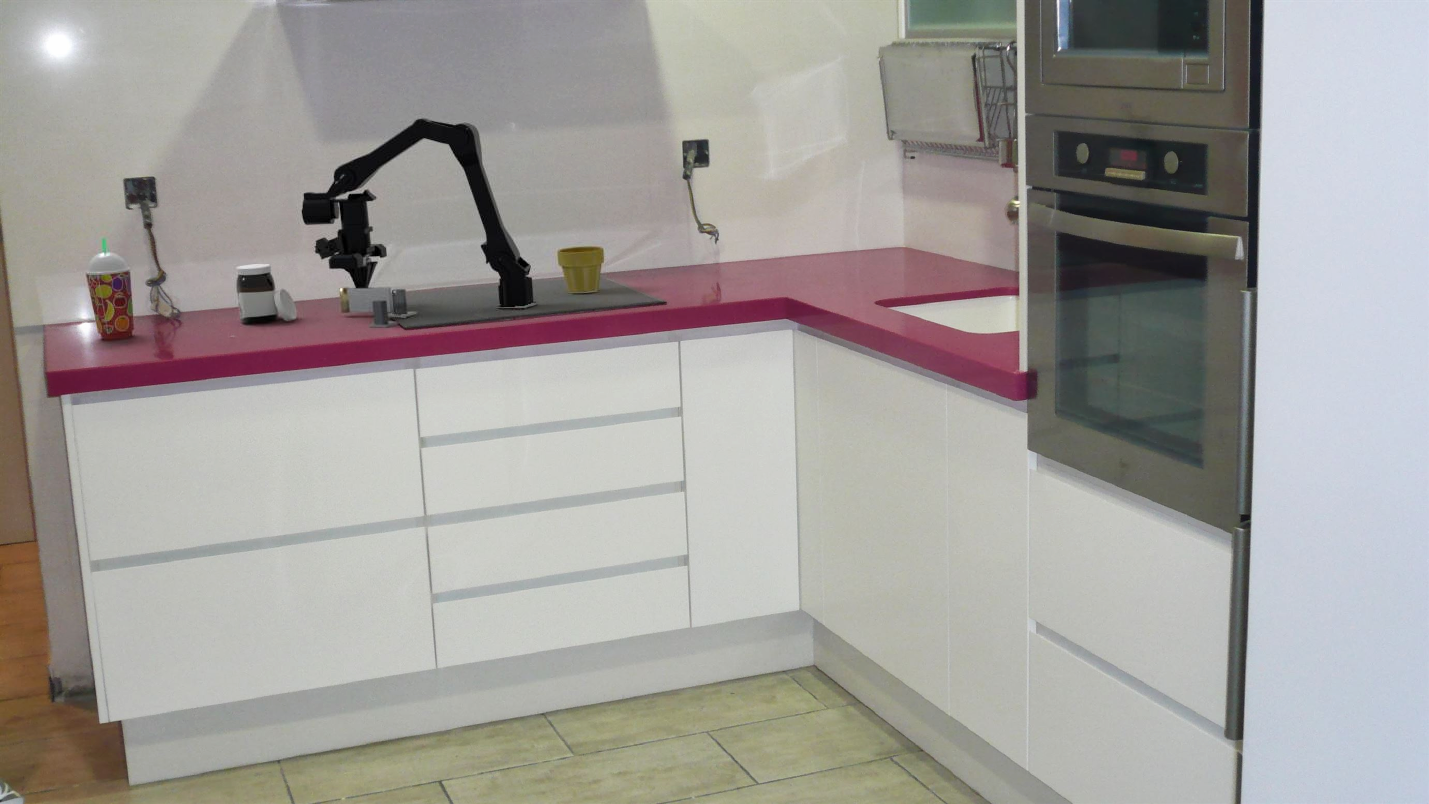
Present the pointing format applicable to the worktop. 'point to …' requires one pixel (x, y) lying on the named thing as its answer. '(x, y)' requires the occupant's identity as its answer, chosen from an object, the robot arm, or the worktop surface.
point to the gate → (363, 298)
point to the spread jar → (261, 296)
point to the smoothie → (111, 294)
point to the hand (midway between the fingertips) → (362, 296)
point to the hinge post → (399, 302)
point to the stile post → (381, 315)
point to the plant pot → (581, 267)
